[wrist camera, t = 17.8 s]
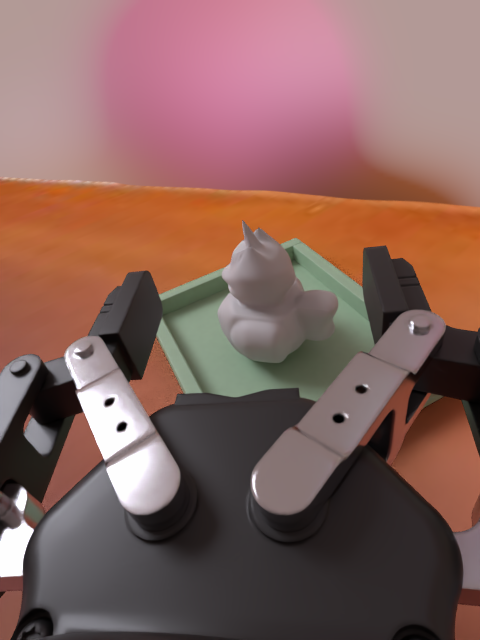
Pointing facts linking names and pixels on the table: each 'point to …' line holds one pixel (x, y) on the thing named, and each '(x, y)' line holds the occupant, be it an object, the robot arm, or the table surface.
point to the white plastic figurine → (270, 302)
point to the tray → (253, 376)
